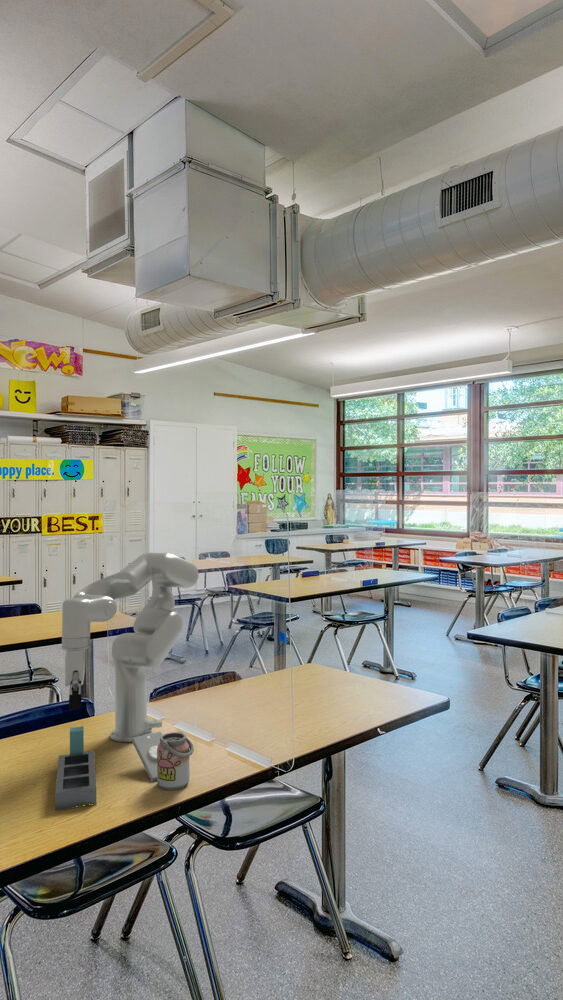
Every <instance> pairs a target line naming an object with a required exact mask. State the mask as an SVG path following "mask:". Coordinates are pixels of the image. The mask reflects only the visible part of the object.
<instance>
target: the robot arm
mask: <svg viewBox="0 0 563 1000" xmlns="http://www.w3.org/2000/svg"><path fill="white" fill-rule="evenodd" d="M198 579H199V570H198V568H197V566H196V565H195V564H194V563H193V562H191V561H189V560H187V559H184V558H182V557H180V556H177V555H175V554H172V553H167V552H146V553H141V555H139V556H138V557H136V558H135V559H133V561H131V562H130V563H129V564H128V565H126V566H125V567H124V568H122V569H121V570H120V571H118V572H116V573H113V574H111V575H108V576H105V577H102V578H101V579H99V580H95V581H93V582H91V583H89V584H88V585H86V586H85V587H83V588H82V589H81V590H79V591H78V592H77V593H76V594H74V595H73V597H71V598H67V599H64V600H63V602H62V607H61V609H62V610H61V611H62V614H61V615H62V619H61V622H62V623H61V649H62V650H63V651H65V654H64V655H65V657H64V687H66V688H68V686H69V695H68V711H75V710H81V709H82V696H83V695H82V686H83V685H84V681H85V672H86V671H85V670H86V650H88V649H89V648H91V623H95V622H96V623H100V622H101V623H103V622H107V621H109V620H112V619H113V618H114V617H115V615H116V613H117V609H118V605H117V602H116V601H115V600H119V599H125V598H128V597H131V596H135V595H136V594H137V593H138V592H139V591H141V590H142V589H143V588H144V587H146V586H147V584H149V583H150V582H151V585H152V587H151V588H152V593H151V597H150V598H149V600H148V601H147V602H146V603H145V605H144V606H143V608H142V609H141V611H140V612H139V613H138V615H136V618H135V620H134V622H133V631H134V632H126V633H125V632H124V633H121V634H118V635H117V636H116V637H115V639H113V641H112V645H111V656H112V661H113V667H114V679H115V680H114V682H115V684H114V685H115V687H114V690H115V691H114V694H115V697H114V702H115V703H114V705H115V718H114V719H115V721H114V722H115V725H114V726H115V727H114V729H113V730H111V731H110V735H109V737H110V739H111V740H113V741H115V742H120V743H132V739H133V738H135V737H139V736H143V735H147V734H152V733H153V730H152V729H155V728H156V729H157V728H163V722H162V720H157V719H153V720H150V719H149V718H148V715H147V714H148V713H147V712H148V711H147V709H148V708H147V706H148V704H147V695H148V694H147V692H148V691H147V684H148V683H147V674H146V670H145V667H147V668H155V667H158V666H160V665H161V664H162V663H163V661H164V660H165V659H166V658H167V656H168V655H169V653H170V652H171V650H172V648H173V647H174V645H175V644H176V643H177V641H178V639H179V638H180V636H181V632H182V629H183V619H182V616H181V615H180V614H179V612H177V611H175V610H174V608H175V604H176V600H175V597H174V594H173V592H172V591H173V589H172V588H182V589H183V588H185V589H189V588H191V587H193V586H195V585H196V584H197V582H198Z"/></svg>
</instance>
